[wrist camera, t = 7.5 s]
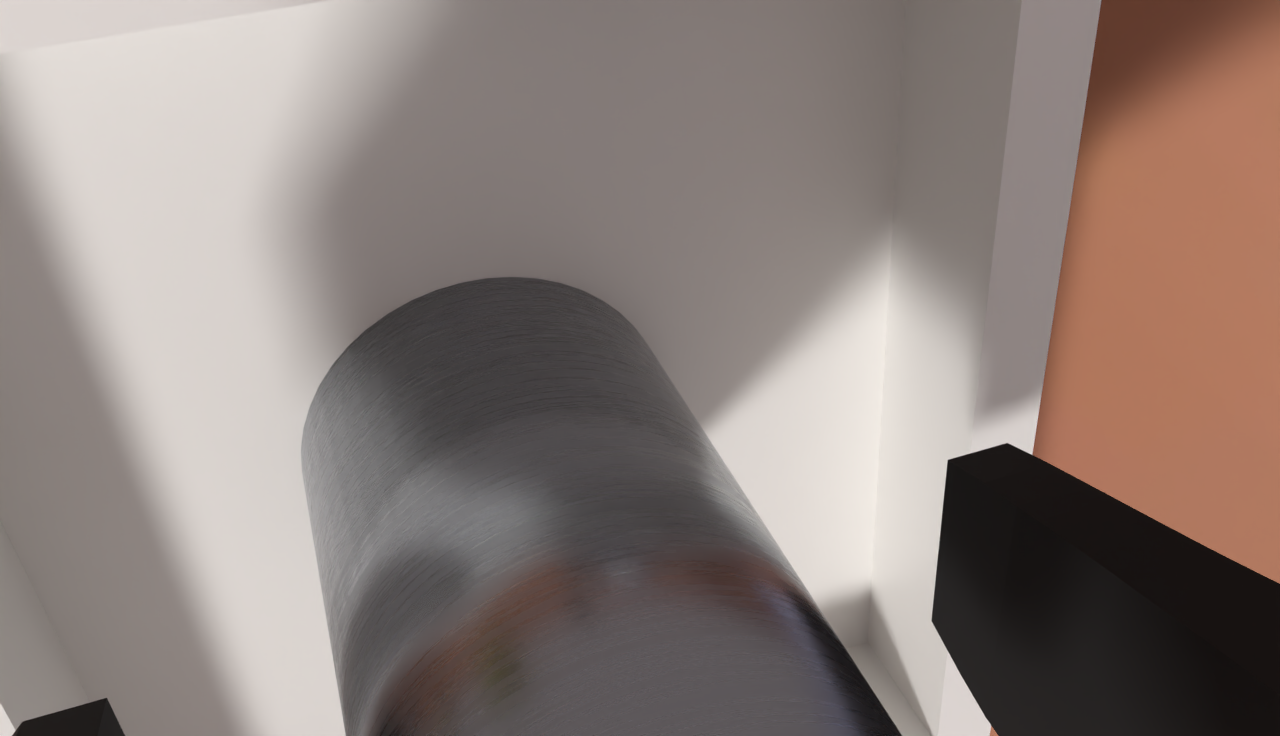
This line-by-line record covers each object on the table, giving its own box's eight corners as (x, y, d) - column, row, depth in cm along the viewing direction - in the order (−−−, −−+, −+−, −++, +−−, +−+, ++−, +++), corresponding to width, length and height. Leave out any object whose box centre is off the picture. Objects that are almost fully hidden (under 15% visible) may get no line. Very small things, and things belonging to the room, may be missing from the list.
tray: (964, -269, 11) (1138, -238, 9) (895, 635, 18) (985, 764, 16) (-403, -97, 9) (-570, -2, 7) (124, 880, 16) (118, 1069, 14)
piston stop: (674, 257, 12) (1089, 789, 7) (654, 548, 15) (958, 1134, 9) (279, 301, 11) (399, 986, 6) (320, 611, 13) (436, 1330, 8)
